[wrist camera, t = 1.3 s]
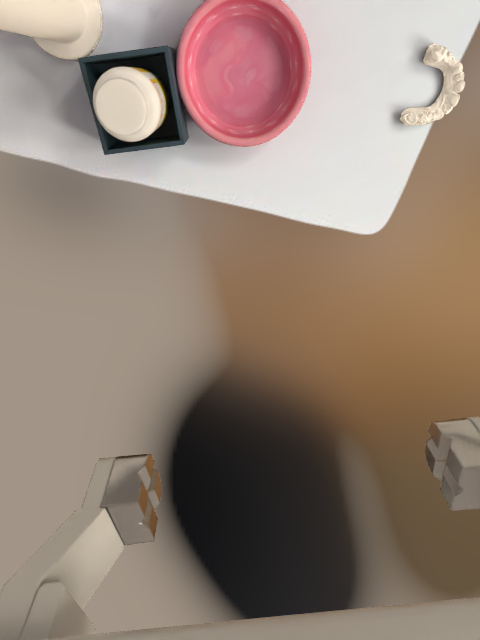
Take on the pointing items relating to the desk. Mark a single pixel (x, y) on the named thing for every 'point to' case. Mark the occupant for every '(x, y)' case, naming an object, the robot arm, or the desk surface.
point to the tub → (165, 68)
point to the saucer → (243, 69)
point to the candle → (55, 24)
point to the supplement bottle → (130, 102)
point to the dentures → (448, 95)
